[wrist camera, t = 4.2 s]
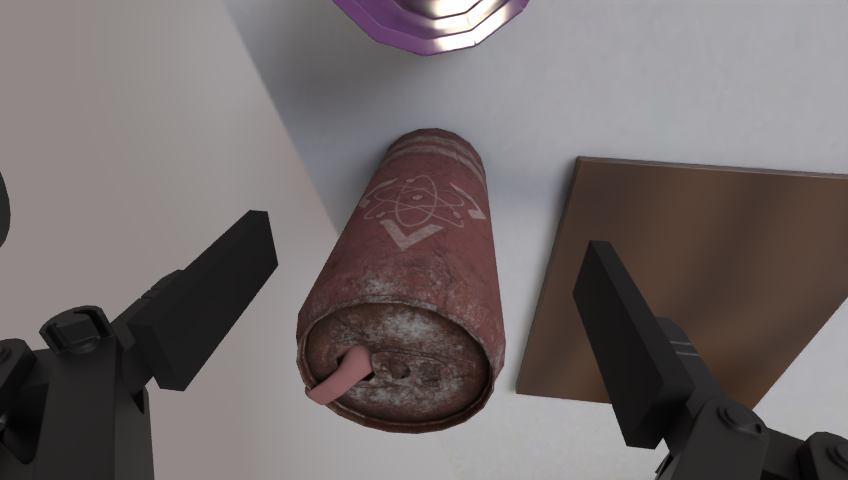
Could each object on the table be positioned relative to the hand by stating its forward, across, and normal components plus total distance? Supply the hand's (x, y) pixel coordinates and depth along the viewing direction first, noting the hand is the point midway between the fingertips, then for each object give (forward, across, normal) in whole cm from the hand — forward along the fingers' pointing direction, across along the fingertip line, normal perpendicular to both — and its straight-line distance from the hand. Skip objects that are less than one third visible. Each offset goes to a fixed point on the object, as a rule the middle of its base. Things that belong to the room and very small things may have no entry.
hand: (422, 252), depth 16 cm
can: (+8, 0, 0) cm, 8 cm away
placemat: (+8, +17, -8) cm, 20 cm away
